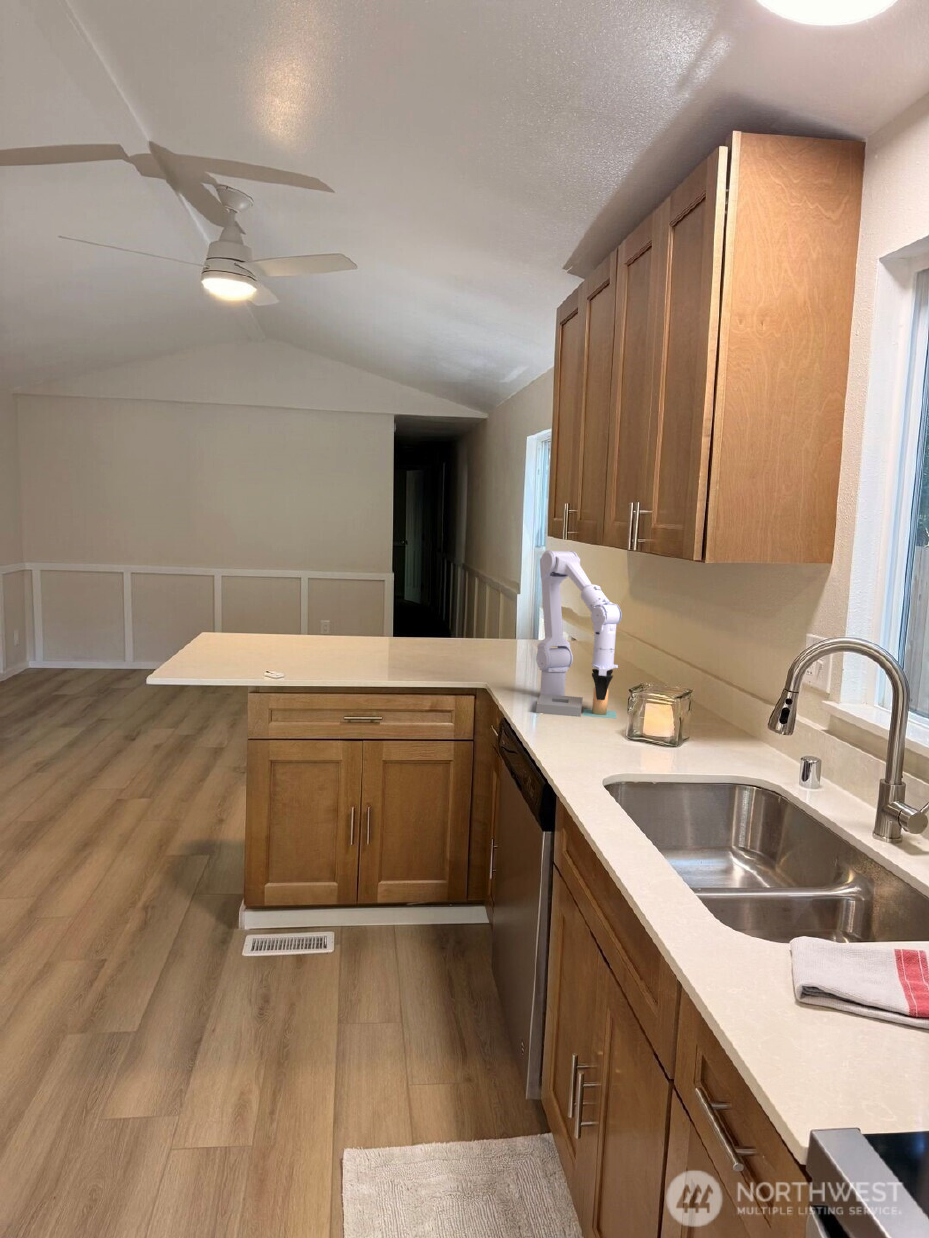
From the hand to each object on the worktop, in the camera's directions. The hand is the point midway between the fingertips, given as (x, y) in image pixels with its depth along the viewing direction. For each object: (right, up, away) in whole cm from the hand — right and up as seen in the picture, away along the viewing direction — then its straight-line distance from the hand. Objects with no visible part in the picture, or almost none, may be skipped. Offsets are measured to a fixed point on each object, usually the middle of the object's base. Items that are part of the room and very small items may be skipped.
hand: (600, 697), depth 233 cm
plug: (0, -4, +1) cm, 5 cm away
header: (-11, -4, +3) cm, 12 cm away
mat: (0, -5, +1) cm, 5 cm away
